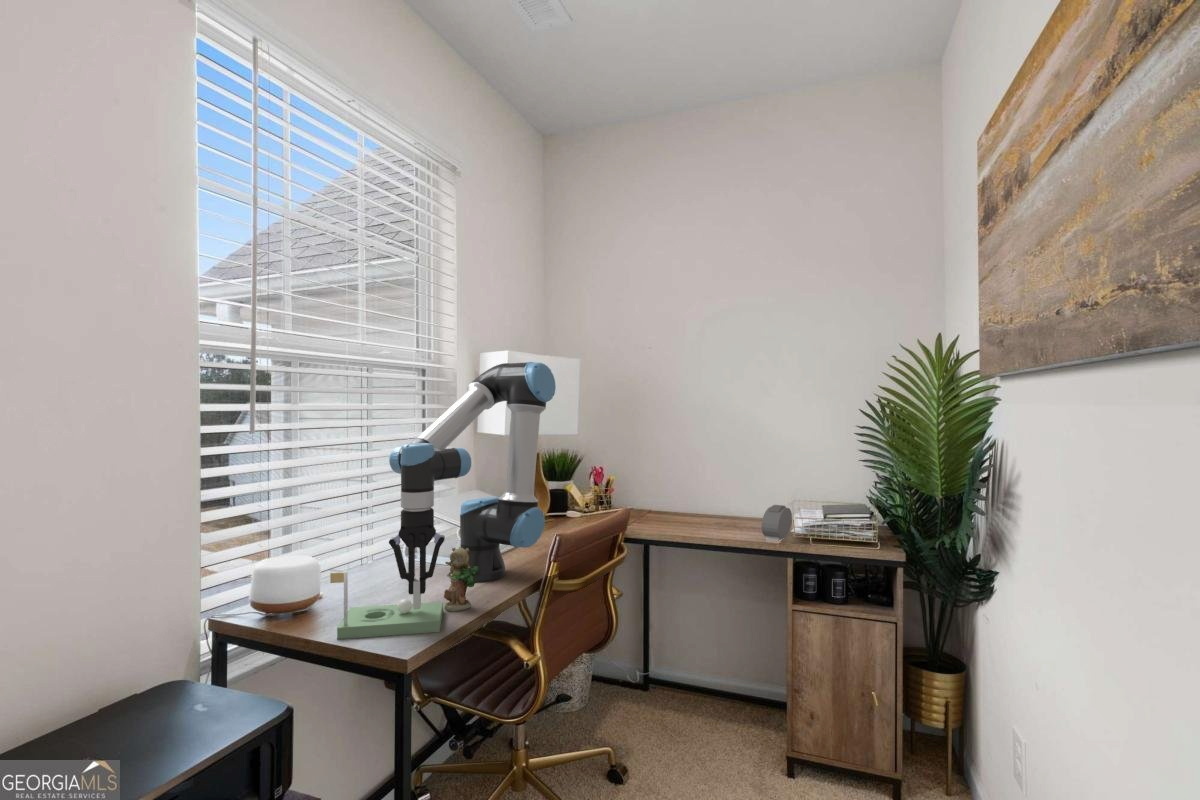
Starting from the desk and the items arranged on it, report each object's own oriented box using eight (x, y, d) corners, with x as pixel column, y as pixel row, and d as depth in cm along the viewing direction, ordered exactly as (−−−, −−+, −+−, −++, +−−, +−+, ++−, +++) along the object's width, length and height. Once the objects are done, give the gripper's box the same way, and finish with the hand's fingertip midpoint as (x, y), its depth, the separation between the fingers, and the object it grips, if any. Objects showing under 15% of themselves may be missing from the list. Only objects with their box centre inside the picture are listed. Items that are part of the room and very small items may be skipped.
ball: (406, 593, 143) (394, 603, 142) (405, 598, 140) (393, 608, 139) (415, 604, 143) (403, 613, 143) (414, 609, 140) (402, 619, 140)
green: (443, 611, 149) (443, 601, 149) (439, 631, 137) (439, 620, 137) (350, 617, 145) (350, 607, 145) (337, 639, 132) (337, 627, 132)
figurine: (437, 609, 151) (437, 550, 151) (457, 600, 158) (457, 543, 158) (464, 615, 147) (464, 554, 147) (484, 606, 153) (484, 548, 153)
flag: (347, 624, 134) (348, 571, 134) (347, 625, 134) (347, 572, 134) (330, 625, 134) (331, 572, 134) (330, 626, 133) (330, 573, 133)
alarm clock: (776, 532, 239) (776, 500, 239) (791, 533, 236) (792, 501, 236) (761, 544, 219) (761, 509, 219) (778, 546, 216) (778, 511, 216)
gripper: (446, 504, 147) (446, 600, 147) (390, 506, 144) (390, 603, 144) (444, 510, 139) (444, 610, 139) (386, 512, 137) (385, 614, 137)
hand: (417, 607), depth 142 cm, fingers closed
